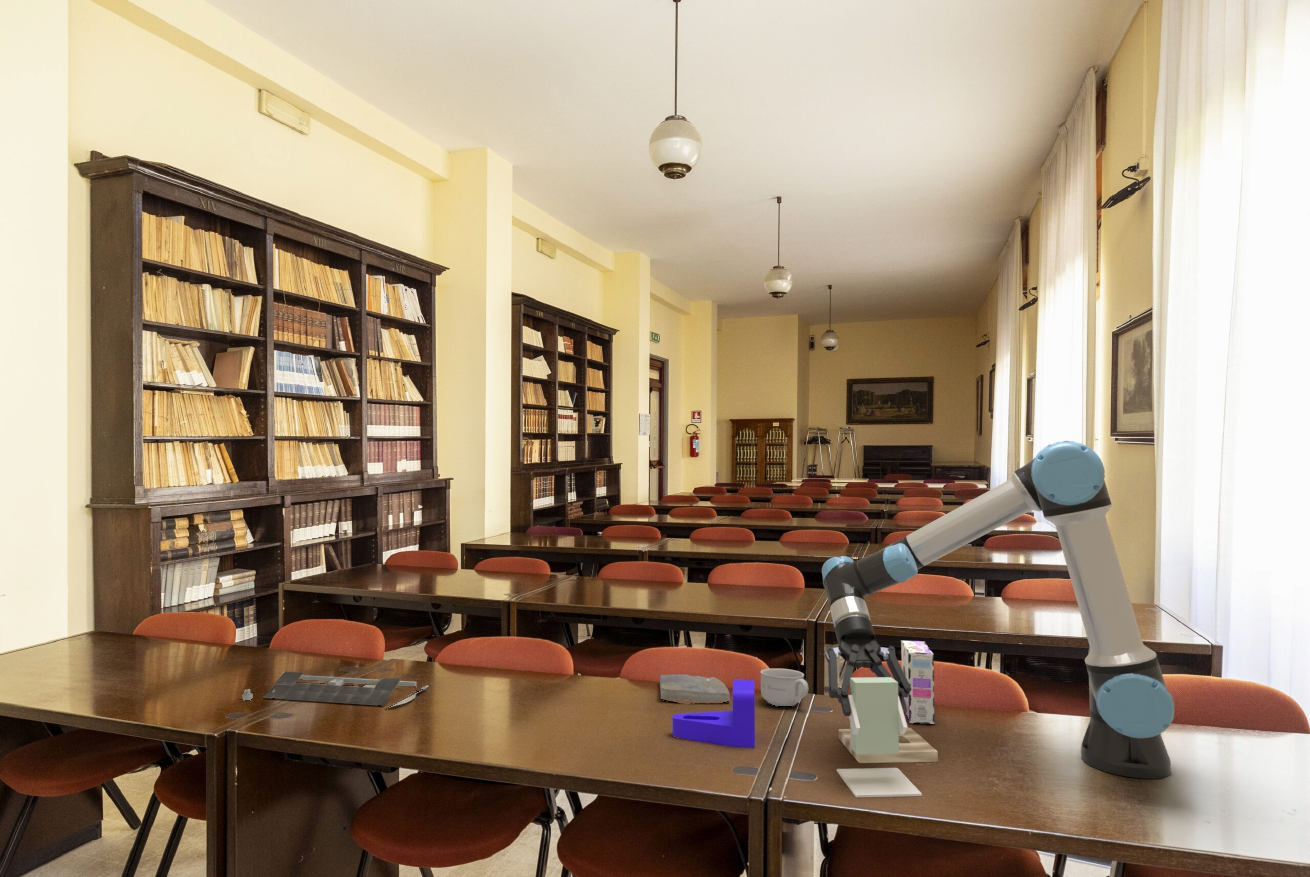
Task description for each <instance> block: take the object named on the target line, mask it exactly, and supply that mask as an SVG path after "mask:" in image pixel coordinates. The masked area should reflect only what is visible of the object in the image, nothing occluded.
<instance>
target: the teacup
mask: <svg viewBox="0 0 1310 877" xmlns="http://www.w3.org/2000/svg"><path fill="white" fill-rule="evenodd" d="M804 676H805V674H804V673H803V672H801V671H799V670H794V669H790V668H789V669H788V668H765V669H761V670H760V692H761V696H762V698H763V699H764V700H765V701H766V703H768V704H769V703H770V704H772V705H771V706H773V705H775V706H774V707H778V706H792V707H795V706H796V705H797V704H798V703H799V702H801V701H802V698H804V697H806V696H807V695H808V694H809V693H808V692H809V684H808V682H807V680H806V679H804ZM770 704H769V705H770Z"/></svg>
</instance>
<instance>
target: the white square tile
mask: <svg viewBox="0 0 1310 877" xmlns="http://www.w3.org/2000/svg"><path fill="white" fill-rule="evenodd" d="M836 772H837V773H838V775H839V776H840V778H841V779H842V781H843V782H844V783H845V785H846V786H847V787H848V789H849V790H850V792H851V793H852V795H853V796H854V797H855V798H856V799H857V798H894V797H895V798H897V797H899V798H900V797H902V798H904V797H923V793H922V792H921V791H920V790H919V789H918V788H917V786H916V785H914V783H912V782H911V781H910V779H909V778H908V777H907V776H906V775H905V774H904V773H903V772H902V771H901V770H900V769H899V768H898V767H875V768H872V767H871V768H837V769H836Z"/></svg>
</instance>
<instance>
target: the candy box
mask: <svg viewBox="0 0 1310 877" xmlns="http://www.w3.org/2000/svg"><path fill="white" fill-rule="evenodd" d="M900 643H901V644H900V648H901V651H900V653H901V668H902V670H903V672H904V674H905V676H906V678H907V680H908V682H909V684H910V686H911V691H910V693H909V695H908V697H906V698H905V697H904V700H905V704H906V707H907V712H906V714H905V716H906V715H907V716H906V718H907V717H908V718H907V720H908V719H909V720H908V723H909V724H913V723H920V724H919V725H926V724H935V721H936V720H935V692H934V691H935V674H934V672H935V670H934V669H935V667H934V664H935V663H934V659H935V658H934V655H935V654H934V653H933V652H932V650H931V649H930V647H928V645H927V643H926V641H920V640H900Z"/></svg>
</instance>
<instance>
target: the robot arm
mask: <svg viewBox="0 0 1310 877" xmlns="http://www.w3.org/2000/svg"><path fill="white" fill-rule="evenodd" d="M1105 474H1106V470H1105V467H1104V463H1103V461H1102V459H1101V458H1100V455H1098V454H1097V453H1096V452H1095V451H1094V450H1093V449H1092V448H1090V447H1089V446H1087V445H1086V444H1083V443H1082V442H1081V443H1080V442H1077V441H1073V440H1072V441H1071V440H1064V441H1057V442H1054V443H1052V444H1050V443H1049V444H1048V445H1046V446H1044V447H1043V448H1042V449H1041V450H1040V451H1039V452H1038V453H1037V454H1036V455H1035V456H1034V458H1033V459H1031V460H1030V461H1029V462H1028V463H1026V464H1025V465H1023V466H1021V467H1020V468H1018V469H1017V470H1014V471H1013V472H1012V474H1011V478H1010V479H1008V480H1006V481H1004V482H1003V483H1001V484H998V485H997V486H996V487H993V488H991V489H990V490H987V492H984V493H982V494H981V495H979V496H977V497H975V498H973V499H971V500H969V501H968V502H966V503H964V504H962V505H960V506H959V507H957V508H955V509H953V510H952V511H950V512H948V513H946V514H944V515H942V516H940V517H939V518H937V519H935V520H933V521H932V522H930V523H928V524H925V525H924V526H922V527H920V528H918V529H917V530H915V531H913V532H911V533H909V534H908V535H906V536H904V537H902V538H900V539H898V540H896V541H895V542H892V543H890V544H888V545H886V546H885V547H883V548H882V549H880V550H878V551H876V552H874V553H872V554H870V555H867V556H865V557H863V558H860V559H857V560H853V558H852V557H851V558H850V557H849V556H846V555H845V556H844V555H840V556H838V557H837V556H833V557H831V558H829V559H828V560H826V561H825V562H824V563H823V565H822V568H821V574H822V584H823V588H824V591H825V594H826V599H827V602H828V605H829V610H830V614H831V619H832V622H833V627H834V632H835V635H836V636H835V637H836V641H837V644H838V646H837V647H833V646H830V645H828V646H827V647H826V649H825V653H824V656H825V659H826V662H827V672H828V696H829V698H830V699H837V700H838V702H839V704H840V706H841V709H842V714H843V716H844V717H848V718H849V719H848V720H849V724H850V723H851V728H852V732H853V735H857V734H858V732H859V730H860V724H859V720H858V716H857V712H856V708H855V704H854V700H853V695H850V694H849V691H850V678H853V672H854V669H860V668H863V669H869V670H870V671H871V672H872V673H874V674H875V675H876V676H875V677H892V678H893V679H894V680H896V681H897V682H898V730H899V733H900V735H901V734H904V733H905V732H906V730H907V728H909V727H908V723H907V721H906V712H907V707H906V704H905V700H904V697H905V698H906V697H908V695H909V693H910V691H911V686H910V684H909V682H908V680H907V678H906V676H905V674H904V672H903V670H902V665H901V664H900V662H899V660H898V658H897V656H896V648H895V646H893V645H889V646H888V647H882V646H881V645H880V644H879V643H878V642H877V638H876V634H875V630H874V627H873V623H872V621H871V616H870V613H869V609H868V606H867V601H866V599H865V597H867V596H869V595H873V594H874V593H877V592H880V591H882V590H886V589H888V588H891V587H892V586H895V585H897V584H901V583H905V582H906V581H909V580H911V579H913V578H915V577H916V576H917V575H918V572H919V570H920V569H922V568H923V567H925V566H928V565H929V564H931V563H932V562H935V561H937V560H939V559H941V558H942V557H943V558H944V556H946V555H948V554H951V553H952V552H954V551H956V550H958V549H959V548H962V547H964V546H965V545H966V546H967V544H969V543H971V542H973V541H975V540H978V539H979V538H981V537H983V536H985V535H986V534H987V535H988V534H989V533H990V532H992V531H994V530H996V529H998V528H1000V527H1003V526H1004V525H1006V524H1008V523H1009V522H1012V521H1014V520H1016V519H1017V518H1019V517H1022V516H1023V515H1025V514H1027V513H1029V512H1031V511H1035V512H1039V513H1040V512H1042V514H1043V515H1042V516H1043V518H1044V519H1045V520H1047V521H1049V522H1050V523H1052V524H1053V525H1054V526H1055V529H1056V532H1057V535H1058V539H1059V542H1060V547H1061V550H1062V553H1063V556H1064V557H1063V558H1064V560H1065V565H1066V568H1067V572H1068V574H1069V577H1070V581H1071V586H1072V588H1073V592H1074V596H1075V599H1076V603H1077V606H1078V610H1079V613H1080V616H1081V621H1082V623H1083V628H1084V631H1085V635H1086V638H1087V642H1088V644H1089V648H1088V655H1087V656H1086V657H1085V659H1084V662H1085V666H1086V670H1087V674H1088V686H1089V688H1088V691H1089V722H1088V725H1087V728H1086V731H1085V734H1084V736H1083V738H1082V741H1081V745H1080V746H1081V747H1080V756H1081V757H1080V758H1081V759H1082V760H1083V762H1085V763H1086V764H1087V765H1088V766H1090V767H1092V768H1095V769H1097V770H1100V771H1103V772H1107V773H1110V774H1112V775H1113V774H1114V775H1117V776H1118V775H1119V776H1122V777H1128V778H1133V779H1135V778H1136V779H1161V778H1166V777H1168V776H1170V775H1171V774H1172V773H1171V772H1172V767H1171V766H1172V763H1171V758H1170V755H1169V753H1168V750H1167V748H1166V745H1165V742H1164V740H1163V737H1162V733H1163V732H1165V731H1166V730H1167V729H1168V728H1169V727H1170V726H1171V725H1172V722H1173V720H1174V717H1175V701H1174V698H1173V695H1172V694H1171V693H1170V690H1169V689H1168V688H1167V685H1166V682H1165V679H1164V676H1163V675H1164V674H1163V672H1162V670H1161V666H1160V662H1159V659H1158V655H1157V653H1156V652H1155V651H1154V650H1152V649H1151V648H1149V647H1148V646H1146V645H1145V644H1144V642H1143V639H1142V636H1141V631H1140V627H1139V625H1138V622H1137V618H1136V615H1135V614H1136V613H1135V612H1134V608H1133V605H1132V604H1133V603H1132V601H1131V598H1130V594H1129V591H1128V587H1127V584H1126V581H1125V578H1124V574H1123V571H1122V568H1121V564H1120V560H1119V558H1118V553H1117V551H1116V547H1115V544H1114V541H1113V537H1112V534H1111V530H1110V527H1109V523H1108V520H1107V514H1108V512H1109V511H1110V510H1111V508H1112V506H1113V505H1112V501H1111V498H1110V494H1109V491H1108V487H1107V484H1106V481H1105V477H1106V475H1105ZM879 655H881V656H882V658H883V660H884V661H886V664H887V667H888V669H889V671H890V672H889V671H888V669H887V668H886V667H885V666H884V664H883V661H882V660H881V658H880V657H879ZM839 656H840V657H841V658H842V659H843V660H844V661H845V662H846V664H845V665H846V666H845V671H844V675H843V680H842V683H841V688H839V687H838V657H839Z"/></svg>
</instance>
